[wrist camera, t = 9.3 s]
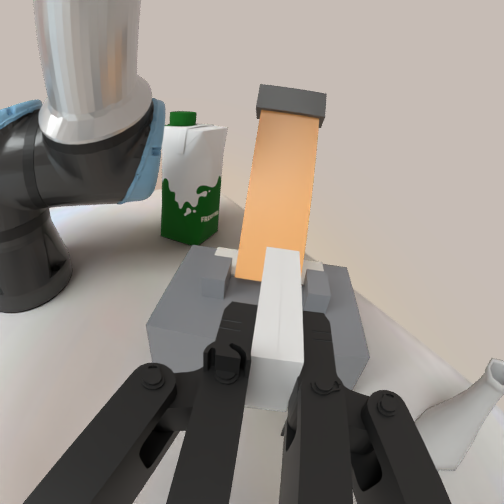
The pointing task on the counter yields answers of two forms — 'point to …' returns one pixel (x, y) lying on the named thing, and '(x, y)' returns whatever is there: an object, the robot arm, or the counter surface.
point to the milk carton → (191, 178)
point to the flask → (460, 418)
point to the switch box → (247, 291)
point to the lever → (280, 176)
